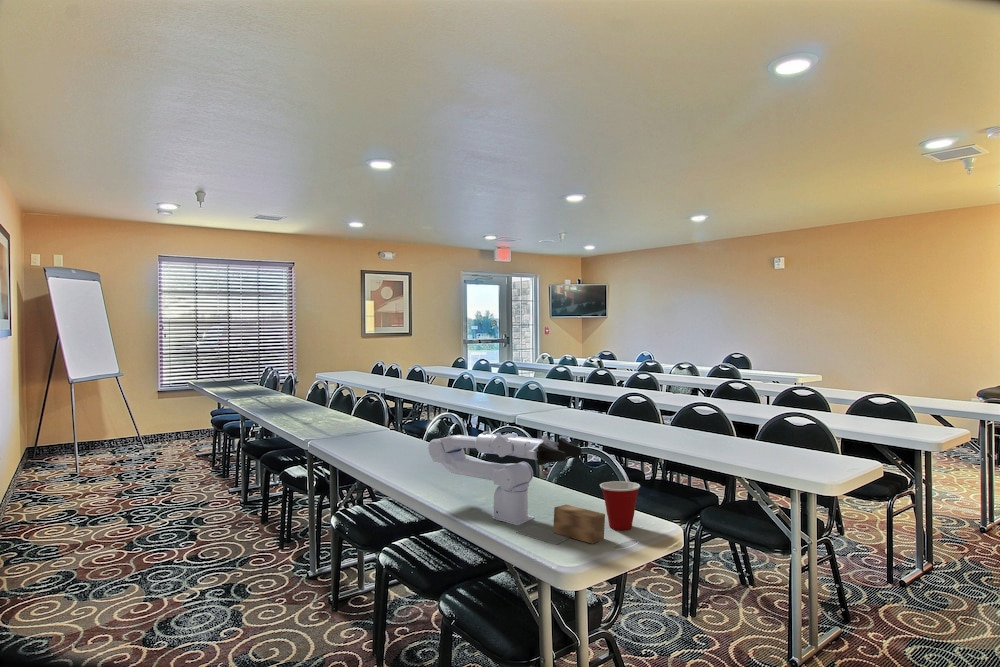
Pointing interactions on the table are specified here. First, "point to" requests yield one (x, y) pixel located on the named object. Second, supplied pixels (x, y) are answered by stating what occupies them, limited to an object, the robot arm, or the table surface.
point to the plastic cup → (620, 503)
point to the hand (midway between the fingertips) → (573, 454)
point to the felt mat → (543, 534)
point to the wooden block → (579, 523)
